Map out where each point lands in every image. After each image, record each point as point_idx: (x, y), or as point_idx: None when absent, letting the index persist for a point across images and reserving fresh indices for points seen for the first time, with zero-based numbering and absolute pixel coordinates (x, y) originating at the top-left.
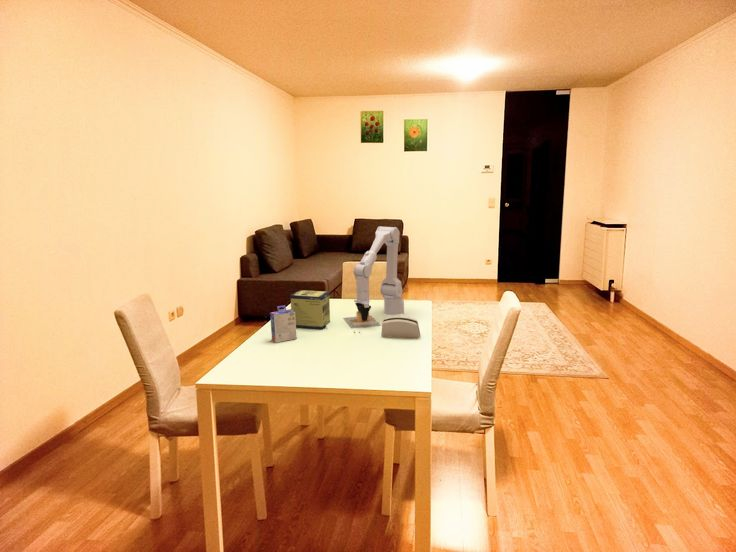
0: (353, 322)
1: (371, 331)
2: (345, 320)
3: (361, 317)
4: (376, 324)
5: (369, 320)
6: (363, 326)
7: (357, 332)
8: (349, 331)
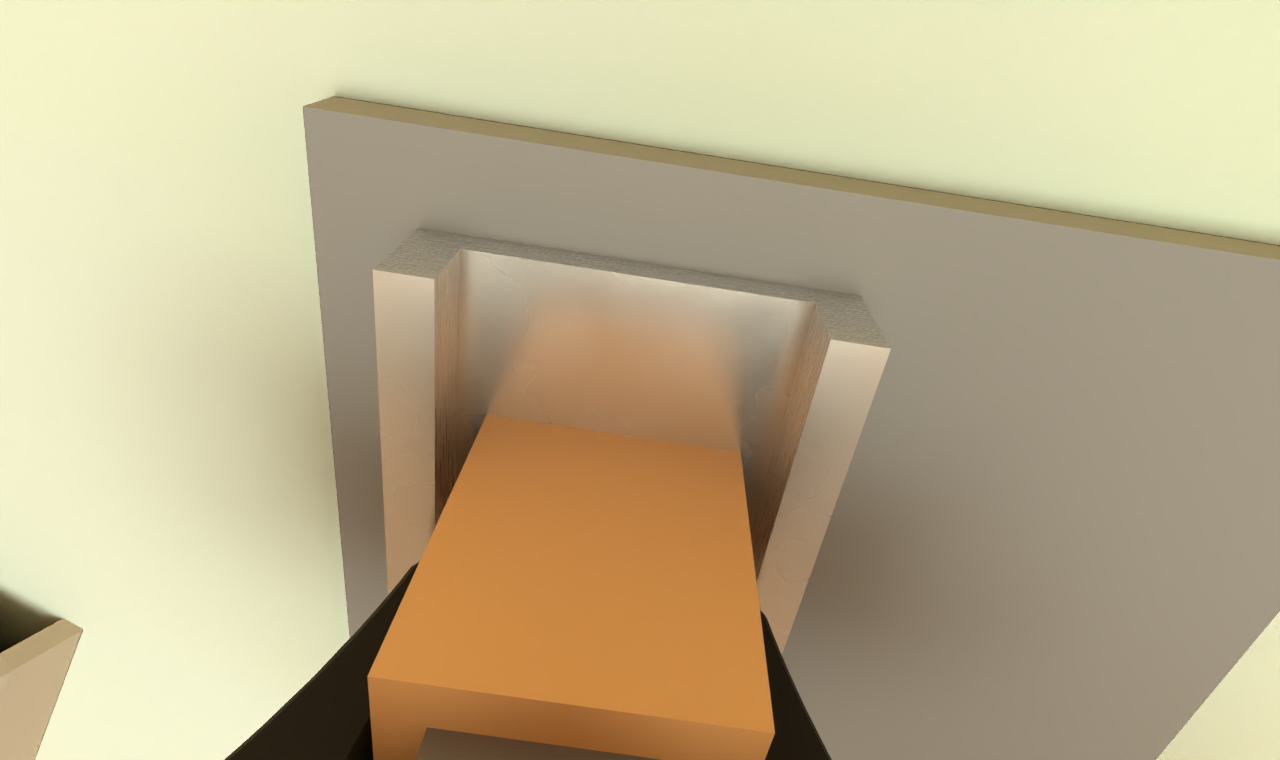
0: (741, 368)
1: (174, 493)
2: (1204, 267)
3: None
4: None
5: None
6: None
7: (128, 201)
8: (254, 20)
